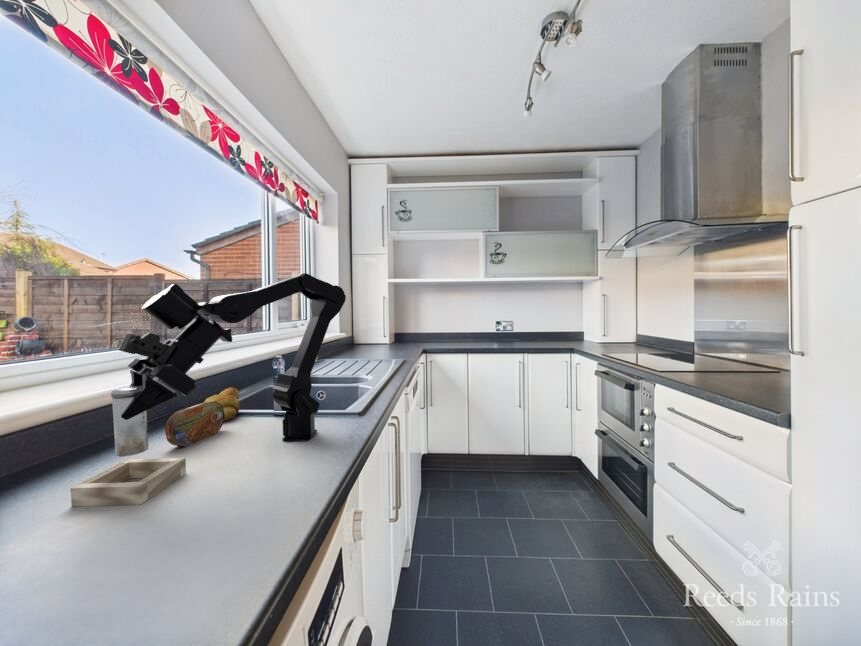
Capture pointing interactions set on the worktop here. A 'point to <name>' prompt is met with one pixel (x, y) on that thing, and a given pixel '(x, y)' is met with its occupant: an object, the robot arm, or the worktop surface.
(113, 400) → the silver metal canister
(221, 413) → the tin
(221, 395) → the bread roll
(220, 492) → the worktop surface
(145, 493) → the collar
